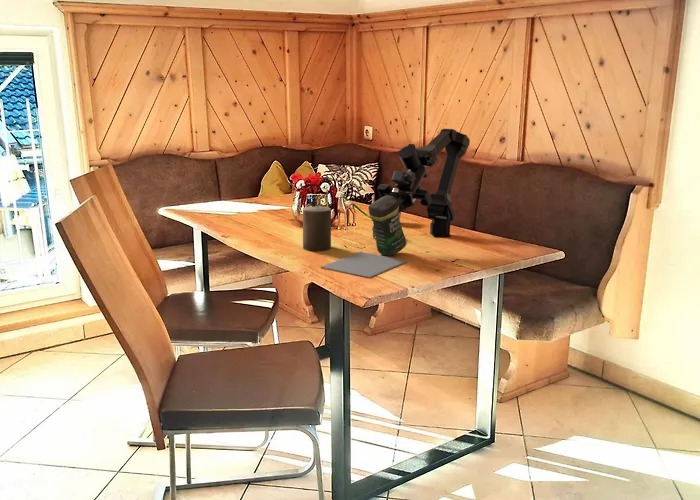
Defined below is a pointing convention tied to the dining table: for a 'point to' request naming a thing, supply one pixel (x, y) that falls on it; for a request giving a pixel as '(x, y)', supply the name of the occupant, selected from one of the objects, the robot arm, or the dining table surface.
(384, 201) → the coffee jar
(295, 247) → the dining table surface
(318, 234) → the pillar candle
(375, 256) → the mat
